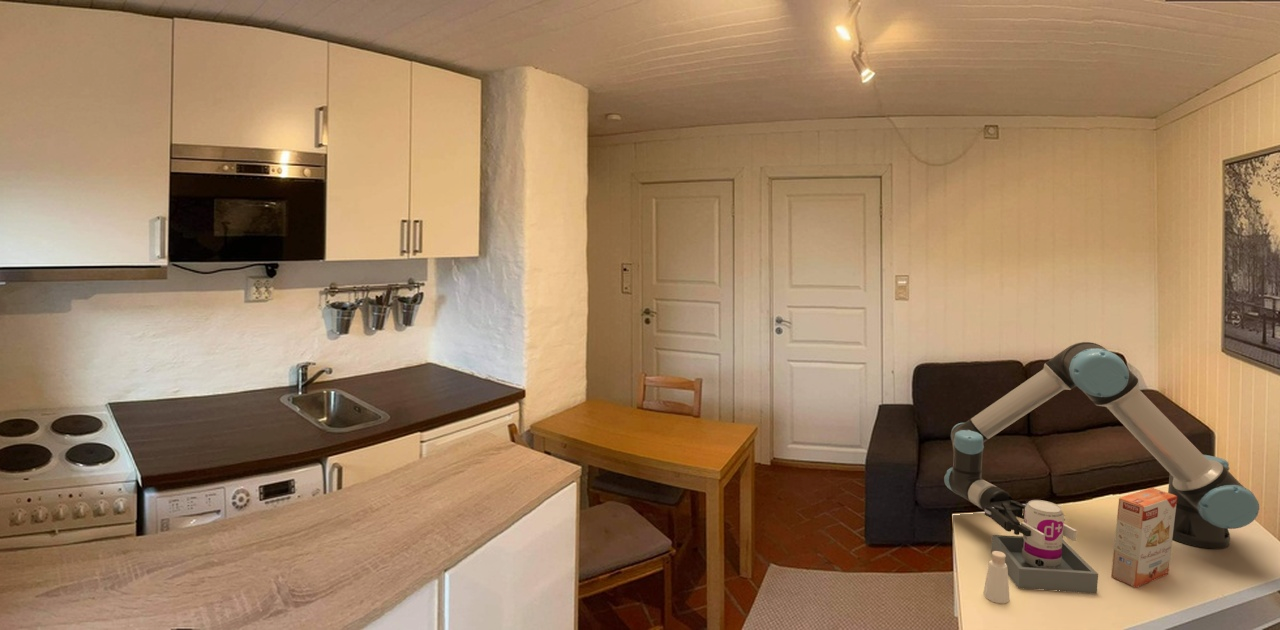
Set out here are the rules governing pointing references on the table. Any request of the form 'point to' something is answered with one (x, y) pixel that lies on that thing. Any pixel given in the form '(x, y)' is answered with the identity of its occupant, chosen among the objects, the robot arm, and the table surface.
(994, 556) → the pepper shaker
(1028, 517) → the supplement can
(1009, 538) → the grey square tray
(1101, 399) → the robot arm
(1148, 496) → the cracker box
